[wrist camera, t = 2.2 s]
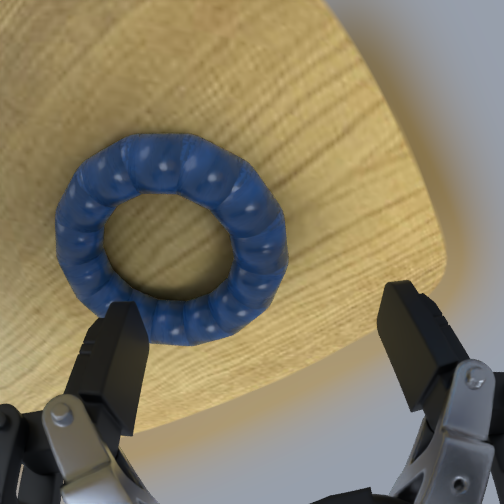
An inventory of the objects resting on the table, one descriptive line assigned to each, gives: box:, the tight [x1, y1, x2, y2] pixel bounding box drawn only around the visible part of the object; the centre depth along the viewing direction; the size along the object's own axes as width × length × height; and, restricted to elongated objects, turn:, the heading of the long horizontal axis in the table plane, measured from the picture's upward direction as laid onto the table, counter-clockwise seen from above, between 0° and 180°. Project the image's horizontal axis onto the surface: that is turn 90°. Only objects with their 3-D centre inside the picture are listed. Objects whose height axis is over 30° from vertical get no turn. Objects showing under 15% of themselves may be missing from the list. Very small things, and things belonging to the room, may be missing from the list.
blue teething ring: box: [55, 133, 289, 346], centre depth 13 cm, size 10×10×2 cm
